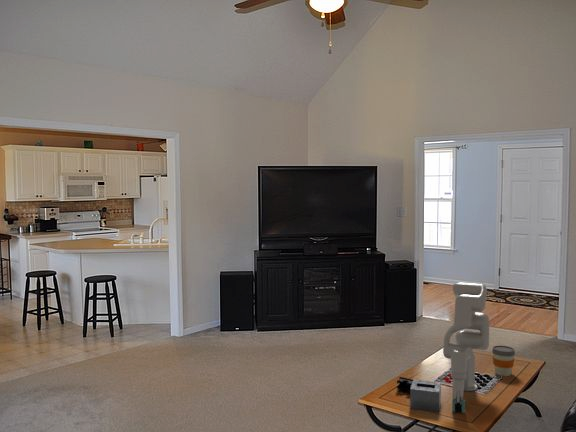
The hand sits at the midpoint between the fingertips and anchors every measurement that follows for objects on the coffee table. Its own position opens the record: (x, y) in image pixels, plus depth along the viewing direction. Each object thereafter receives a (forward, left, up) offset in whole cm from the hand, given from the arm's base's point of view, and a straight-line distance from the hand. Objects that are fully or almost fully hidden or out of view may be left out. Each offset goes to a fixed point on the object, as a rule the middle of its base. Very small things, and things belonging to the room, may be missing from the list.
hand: (458, 410), depth 263 cm
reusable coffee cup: (-65, +24, -1) cm, 69 cm away
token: (0, 0, 0) cm, 0 cm away
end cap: (-19, -27, -1) cm, 33 cm away
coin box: (-3, -16, 0) cm, 16 cm away
